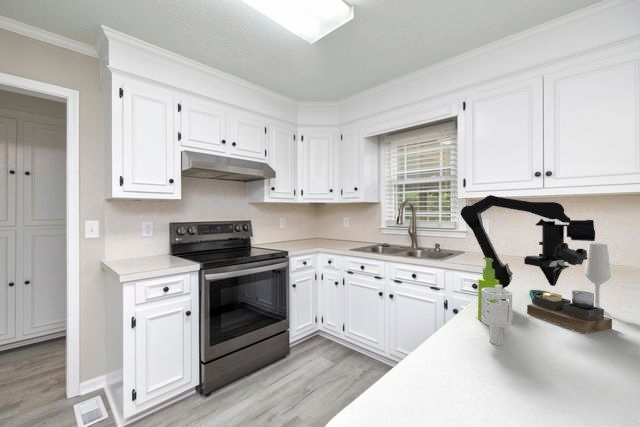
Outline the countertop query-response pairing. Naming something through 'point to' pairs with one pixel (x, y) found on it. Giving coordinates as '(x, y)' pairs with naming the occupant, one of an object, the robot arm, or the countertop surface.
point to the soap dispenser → (486, 283)
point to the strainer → (496, 312)
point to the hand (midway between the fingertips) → (552, 285)
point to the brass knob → (552, 296)
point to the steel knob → (583, 299)
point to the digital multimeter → (536, 294)
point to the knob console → (570, 315)
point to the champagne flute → (598, 268)
